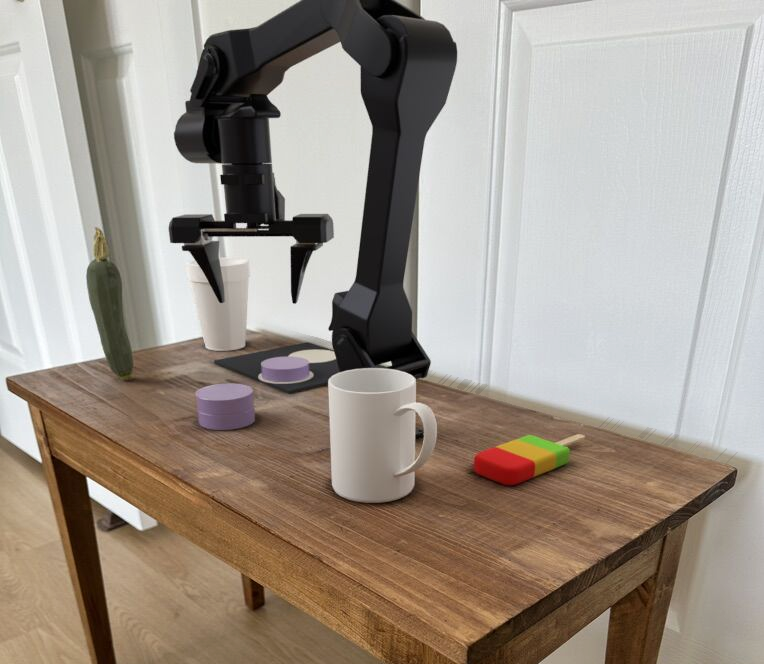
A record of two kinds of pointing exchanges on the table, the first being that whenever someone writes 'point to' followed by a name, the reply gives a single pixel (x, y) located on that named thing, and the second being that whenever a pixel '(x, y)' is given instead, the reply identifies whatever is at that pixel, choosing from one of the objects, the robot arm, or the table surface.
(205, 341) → the foam cup
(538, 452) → the popsicle
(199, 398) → the purple puck
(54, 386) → the table surface
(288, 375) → the purple round puck
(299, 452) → the table surface
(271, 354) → the place mat
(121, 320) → the vegetable
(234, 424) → the purple flat disc
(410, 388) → the mug
